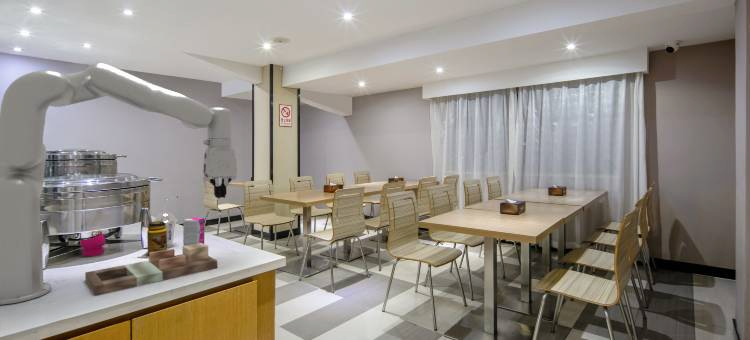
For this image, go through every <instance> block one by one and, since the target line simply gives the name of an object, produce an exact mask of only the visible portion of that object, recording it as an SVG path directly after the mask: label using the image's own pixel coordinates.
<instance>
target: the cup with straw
mask: <svg viewBox="0 0 750 340" xmlns="http://www.w3.org/2000/svg"><path fill="white" fill-rule="evenodd" d="M176 199H179V196H172V197H166V198H164V199H163V211H162V212H160V213H157V215H156V217H155V218H154V220H153V221H152V222H156V221H163V222H165V228H166V230H167V249H168V248H169V249H170V248H172V247H173V243H174V238H175V237H174V235H175V229H176V224H177V223H178V221H179V220H178V218H176V216H175V215H174V213H172V212H170V211H167V207H166V206H167V201H169V200H176Z"/></svg>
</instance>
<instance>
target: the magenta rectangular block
mask: <svg viewBox="0 0 750 340" xmlns="http://www.w3.org/2000/svg"><path fill="white" fill-rule="evenodd" d="M105 244H106V238H105V235H104V234H103V233H102V231H101V232H100V234H99V235H98V236H95V237H93V238H91V239H87V240H81V239H80V241H79V246H80V247H81V248H82V249H83V250H82V252H81V253H82V254H81V255H83V257H85V256H89V257H96V255H97V256H100V254H101V255H103V254H104V253H105V248H104V245H105Z"/></svg>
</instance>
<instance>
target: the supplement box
mask: <svg viewBox="0 0 750 340" xmlns="http://www.w3.org/2000/svg"><path fill="white" fill-rule="evenodd" d="M182 225H183V240H182V242H183V243H182V247H183V246H186V245H192V244H197V243H203V244H205V227H206V226H205V225H206V223H205V217H188V218H186V219H183V224H182Z"/></svg>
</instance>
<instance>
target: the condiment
mask: <svg viewBox="0 0 750 340" xmlns="http://www.w3.org/2000/svg"><path fill="white" fill-rule="evenodd" d="M147 225H148V227H147V228H148V230H147V235H146V237H147V251H146V252H145V253H144V254H142V255H140V256H138V257H137V259H138V258H139V259H140V258H142V259H143V258H149V253H151V252H156V251H162V250H168V248H167V230H166V228H165V222H163V221H156V222H153V221H150V222H149V223H148V224H147Z"/></svg>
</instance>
